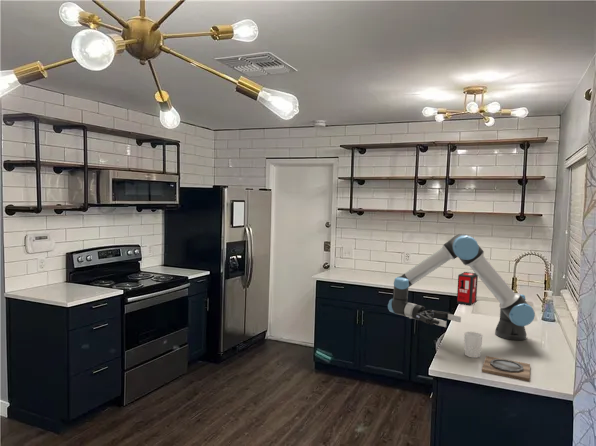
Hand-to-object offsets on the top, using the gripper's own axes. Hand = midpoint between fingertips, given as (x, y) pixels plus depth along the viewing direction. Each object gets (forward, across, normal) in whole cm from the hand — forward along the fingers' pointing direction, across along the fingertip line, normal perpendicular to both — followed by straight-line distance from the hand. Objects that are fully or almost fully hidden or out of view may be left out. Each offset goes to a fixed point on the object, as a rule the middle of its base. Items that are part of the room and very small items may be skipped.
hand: (453, 321), depth 215 cm
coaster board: (+28, +4, -13) cm, 31 cm away
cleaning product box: (-42, -96, -13) cm, 106 cm away
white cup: (+10, 0, -14) cm, 17 cm away
